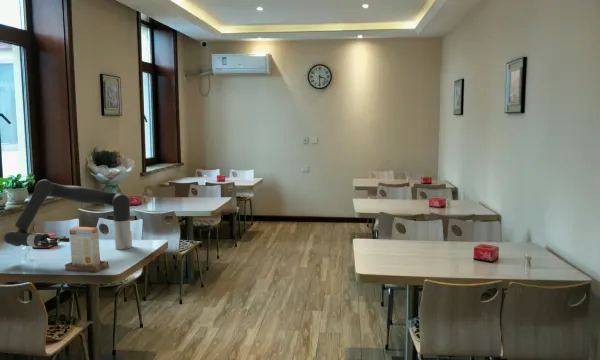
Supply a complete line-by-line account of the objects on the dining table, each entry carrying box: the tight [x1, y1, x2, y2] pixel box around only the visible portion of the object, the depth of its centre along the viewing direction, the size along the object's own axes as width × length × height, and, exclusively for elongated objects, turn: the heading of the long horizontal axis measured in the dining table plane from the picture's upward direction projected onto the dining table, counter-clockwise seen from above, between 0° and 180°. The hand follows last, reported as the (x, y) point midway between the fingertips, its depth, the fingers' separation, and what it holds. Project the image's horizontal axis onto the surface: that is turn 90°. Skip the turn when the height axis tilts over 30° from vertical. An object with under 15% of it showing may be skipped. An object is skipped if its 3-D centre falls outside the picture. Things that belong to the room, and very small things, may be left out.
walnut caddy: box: [64, 260, 109, 274], centre depth 265 cm, size 11×19×3 cm, turn 73°
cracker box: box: [68, 226, 101, 267], centre depth 264 cm, size 14×6×21 cm, turn 71°
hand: (63, 242), depth 268 cm, fingers open, 8 cm apart
